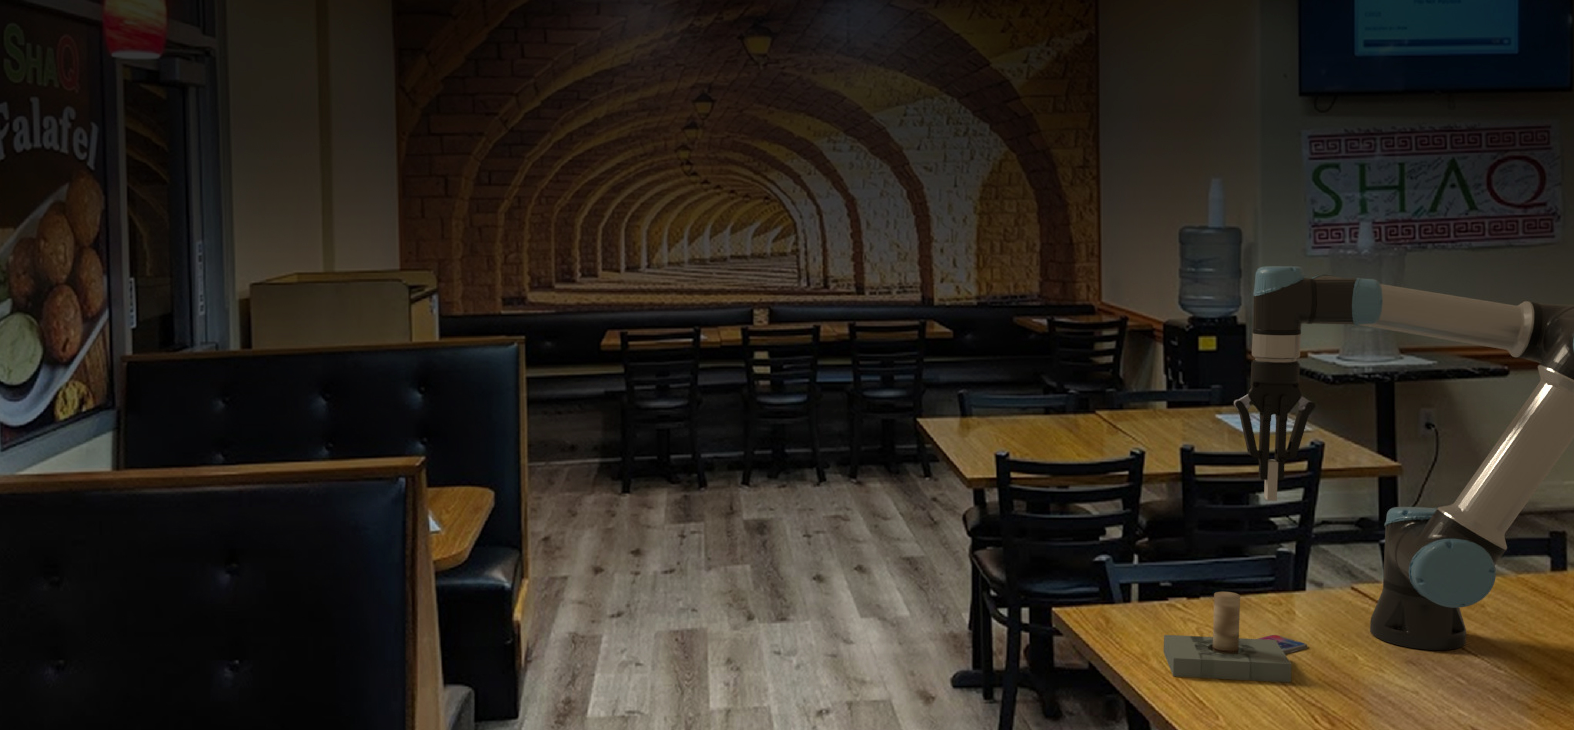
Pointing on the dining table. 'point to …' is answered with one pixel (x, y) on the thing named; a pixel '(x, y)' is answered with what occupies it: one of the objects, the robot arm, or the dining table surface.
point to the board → (1226, 659)
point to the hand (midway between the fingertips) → (1270, 498)
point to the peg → (1226, 623)
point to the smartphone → (1286, 643)
